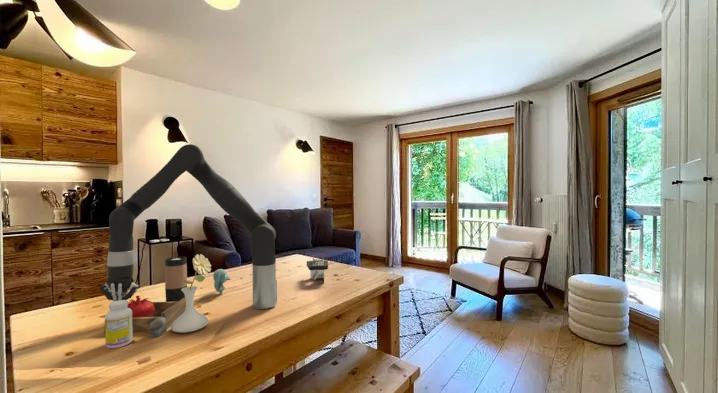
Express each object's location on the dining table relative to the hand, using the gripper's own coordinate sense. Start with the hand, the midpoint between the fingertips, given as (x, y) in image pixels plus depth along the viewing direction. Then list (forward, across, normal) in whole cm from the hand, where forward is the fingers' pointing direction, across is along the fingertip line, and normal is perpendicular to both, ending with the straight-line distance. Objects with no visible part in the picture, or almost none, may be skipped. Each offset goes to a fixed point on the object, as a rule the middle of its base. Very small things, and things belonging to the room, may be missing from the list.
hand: (119, 311), depth 112 cm
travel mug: (+4, -13, -14) cm, 20 cm away
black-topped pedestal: (+1, -68, -44) cm, 81 cm away
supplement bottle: (+4, -11, +16) cm, 20 cm away
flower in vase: (+3, -28, +6) cm, 29 cm away
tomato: (+4, -6, 0) cm, 7 cm away
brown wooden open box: (+4, -10, 0) cm, 11 cm away
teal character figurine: (+3, -26, -28) cm, 38 cm away
